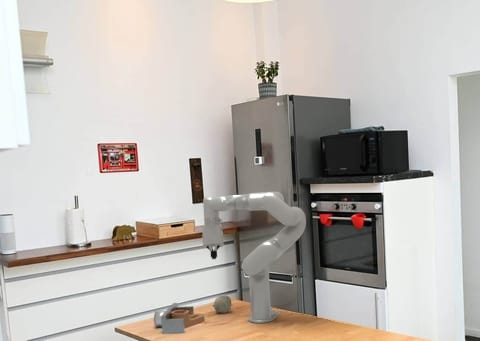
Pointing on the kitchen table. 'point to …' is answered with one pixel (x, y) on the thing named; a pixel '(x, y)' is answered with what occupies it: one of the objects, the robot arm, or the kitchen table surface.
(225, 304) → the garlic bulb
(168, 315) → the steel u-channel
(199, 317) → the bracket
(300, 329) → the kitchen table surface
